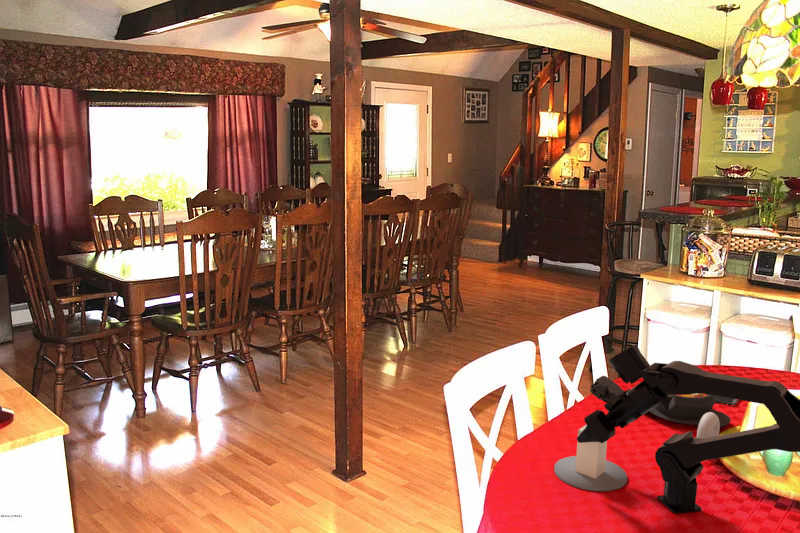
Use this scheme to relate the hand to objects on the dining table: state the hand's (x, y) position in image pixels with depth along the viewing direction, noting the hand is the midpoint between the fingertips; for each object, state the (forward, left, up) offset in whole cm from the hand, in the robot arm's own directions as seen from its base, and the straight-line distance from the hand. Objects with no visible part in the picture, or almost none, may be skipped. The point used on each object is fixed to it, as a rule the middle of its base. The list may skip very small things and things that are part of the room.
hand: (587, 434), depth 161 cm
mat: (-1, -1, -9) cm, 9 cm away
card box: (-1, -1, -9) cm, 9 cm away
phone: (+38, -65, -10) cm, 76 cm away
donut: (+5, -35, -9) cm, 36 cm away
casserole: (+26, -42, -9) cm, 50 cm away
